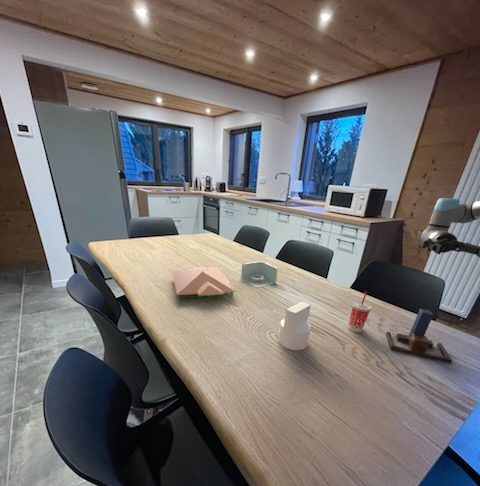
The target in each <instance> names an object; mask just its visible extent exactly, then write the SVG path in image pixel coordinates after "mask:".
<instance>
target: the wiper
mask: <svg viewBox="0 0 480 486" xmlns="http://www.w3.org/2000/svg"><path fill="white" fill-rule="evenodd" d="M433 317H434V313H433V312H432V311H431V310H429V309H424V308H419V310H418V313H417V315H416V317H415V319H414V322H413V324H412V327H411V329H410V332H409V334H408V335H407V334H401V333H396V335H395V339H396V341H397V342H400V343H405V344H408V342H409V339H410V337H411V334H412V333H413V334H418V335H423V336H426V332H427V330H428V329H429V326H430V323H431V321H432V319H433ZM428 341H429V342H430V343H429V345H428V347H427V349H433V347H434V343H433V341H432V340H431V339H428Z"/></svg>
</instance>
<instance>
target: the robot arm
mask: <svg viewBox="0 0 480 486" xmlns="http://www.w3.org/2000/svg"><path fill="white" fill-rule="evenodd" d="M477 220H480V199H479V200H475V201H472V202H471V201H470V202H467V203H461V200H460V199H459V198H450V197H440V198H438V200H437V202H436V203H435V206H434V207H433V211H432V213H431V217H430V220H429V222H428V225H427V227H426V229H424V230H423V232H422V233H421V240H422V244H421V249H426V252H431V251H432V252H434V253H435V254H437V255H441V254H443V253H444V254H446V253H449V252H457V253H462V252H463V253H467V254H471V255H475V256H476V257H478V258H480V245H477V244H472V243H469V242H464V241H459V240H458V238H457V236H456V235H455V234H453V233H451V232H449V230H450V228H451V225H452V224H469V223H472V222H475V221H477Z"/></svg>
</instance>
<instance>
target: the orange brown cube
mask: <svg viewBox="0 0 480 486" xmlns="http://www.w3.org/2000/svg"><path fill="white" fill-rule="evenodd" d="M428 340H429V339H428V337H427V336H426V335H424V336H423V335H418V334H413V333H412V334H411V337H410V339H409V342H408V343H407V346H408V349H412V350H416V351H421V352H425V353H427V350H428V348H427V347H428V345H429V343H430V342H429V341H428Z"/></svg>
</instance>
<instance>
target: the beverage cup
mask: <svg viewBox="0 0 480 486" xmlns="http://www.w3.org/2000/svg"><path fill="white" fill-rule="evenodd" d="M367 294H368V291H367V290H366V291H364V295H363V299H362V300H361V301H353V302H352V303H351V311H350V316H349V320H348V325H347V328H348V329H349V330H350V331H352V332H356V333H361V332H362V331H363V329H364V327H365V324H366V321H367V319H368V317H369V315H370V312H371V311H372V308H373V307H372V305H370V304H369V303H366V302H365V300H366V296H367Z"/></svg>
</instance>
